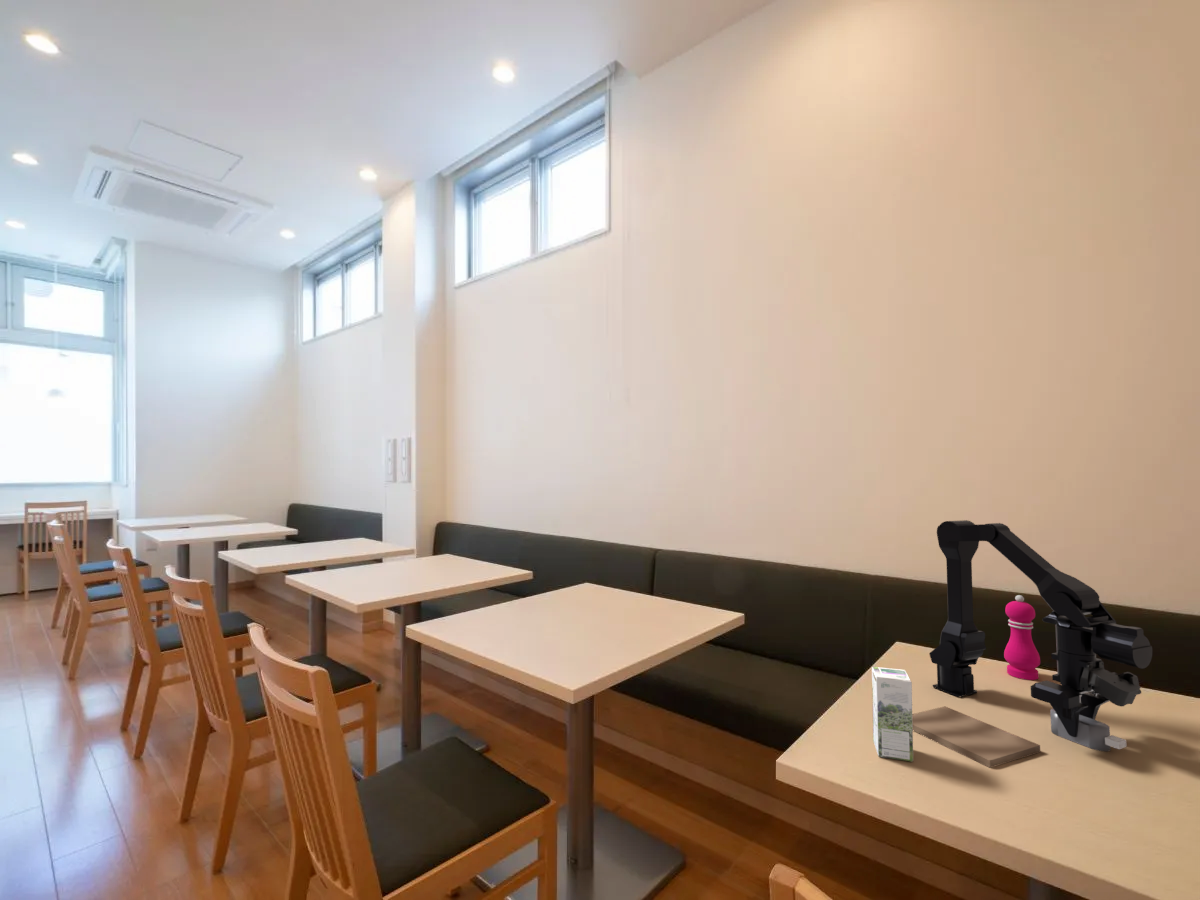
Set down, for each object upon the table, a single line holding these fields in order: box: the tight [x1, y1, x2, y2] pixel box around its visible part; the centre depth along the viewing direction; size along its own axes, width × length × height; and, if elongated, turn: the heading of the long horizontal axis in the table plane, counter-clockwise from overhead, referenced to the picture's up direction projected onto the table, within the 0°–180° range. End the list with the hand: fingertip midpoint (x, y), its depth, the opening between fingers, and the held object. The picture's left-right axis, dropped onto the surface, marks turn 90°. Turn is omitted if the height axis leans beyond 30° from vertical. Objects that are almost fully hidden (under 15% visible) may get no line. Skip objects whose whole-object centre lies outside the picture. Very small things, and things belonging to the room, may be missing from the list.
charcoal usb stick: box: [1050, 708, 1127, 752], centre depth 102 cm, size 11×4×4 cm, turn 22°
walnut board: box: [912, 706, 1041, 768], centre depth 104 cm, size 18×14×1 cm
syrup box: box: [871, 666, 914, 762], centre depth 99 cm, size 6×6×14 cm
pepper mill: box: [1003, 594, 1041, 681], centre depth 136 cm, size 7×7×20 cm
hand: (1079, 734), depth 103 cm, fingers closed on charcoal usb stick, 4 cm apart
